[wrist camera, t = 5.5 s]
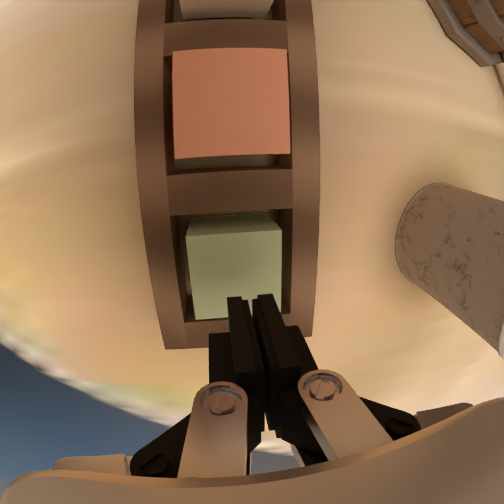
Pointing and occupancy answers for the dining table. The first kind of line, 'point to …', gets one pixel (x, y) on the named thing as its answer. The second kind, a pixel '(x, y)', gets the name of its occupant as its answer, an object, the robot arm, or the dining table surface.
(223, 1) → the cream key
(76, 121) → the dining table surface
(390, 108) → the dining table surface
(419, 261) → the grey stone cylinder
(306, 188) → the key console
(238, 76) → the terracotta key
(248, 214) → the sage key
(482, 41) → the tankard
